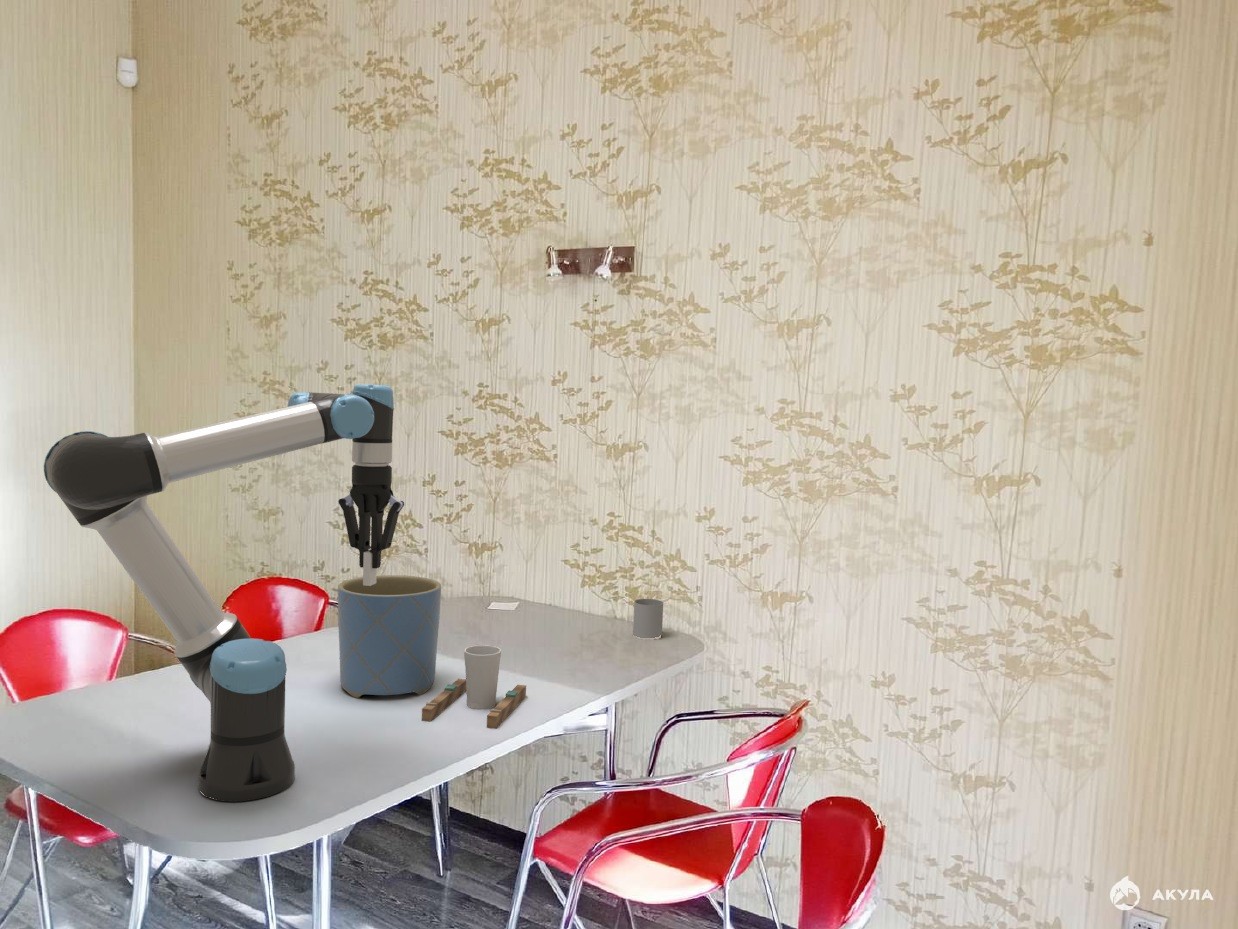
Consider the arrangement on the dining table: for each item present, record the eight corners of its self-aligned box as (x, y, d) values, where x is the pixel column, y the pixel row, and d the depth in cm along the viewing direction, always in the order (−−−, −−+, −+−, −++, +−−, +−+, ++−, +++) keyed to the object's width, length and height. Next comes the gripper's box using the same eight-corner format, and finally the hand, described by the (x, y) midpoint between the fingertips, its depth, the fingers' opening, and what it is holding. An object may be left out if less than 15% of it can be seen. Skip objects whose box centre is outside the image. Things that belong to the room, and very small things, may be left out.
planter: (334, 705, 195) (336, 596, 194) (337, 673, 217) (339, 575, 216) (442, 699, 202) (445, 594, 200) (434, 669, 223) (437, 574, 222)
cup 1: (489, 712, 195) (491, 657, 194) (456, 707, 197) (457, 652, 196) (505, 701, 202) (507, 647, 201) (472, 696, 205) (474, 643, 204)
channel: (496, 728, 185) (496, 713, 185) (421, 720, 188) (421, 705, 188) (526, 696, 206) (526, 682, 206) (458, 689, 209) (458, 676, 209)
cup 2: (629, 638, 260) (630, 603, 259) (637, 631, 268) (638, 597, 267) (658, 641, 257) (659, 606, 257) (665, 634, 265) (666, 600, 265)
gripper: (411, 464, 180) (408, 583, 182) (350, 461, 183) (347, 578, 184) (395, 467, 173) (392, 590, 175) (331, 463, 175) (329, 585, 177)
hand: (369, 584), depth 179 cm, fingers closed
